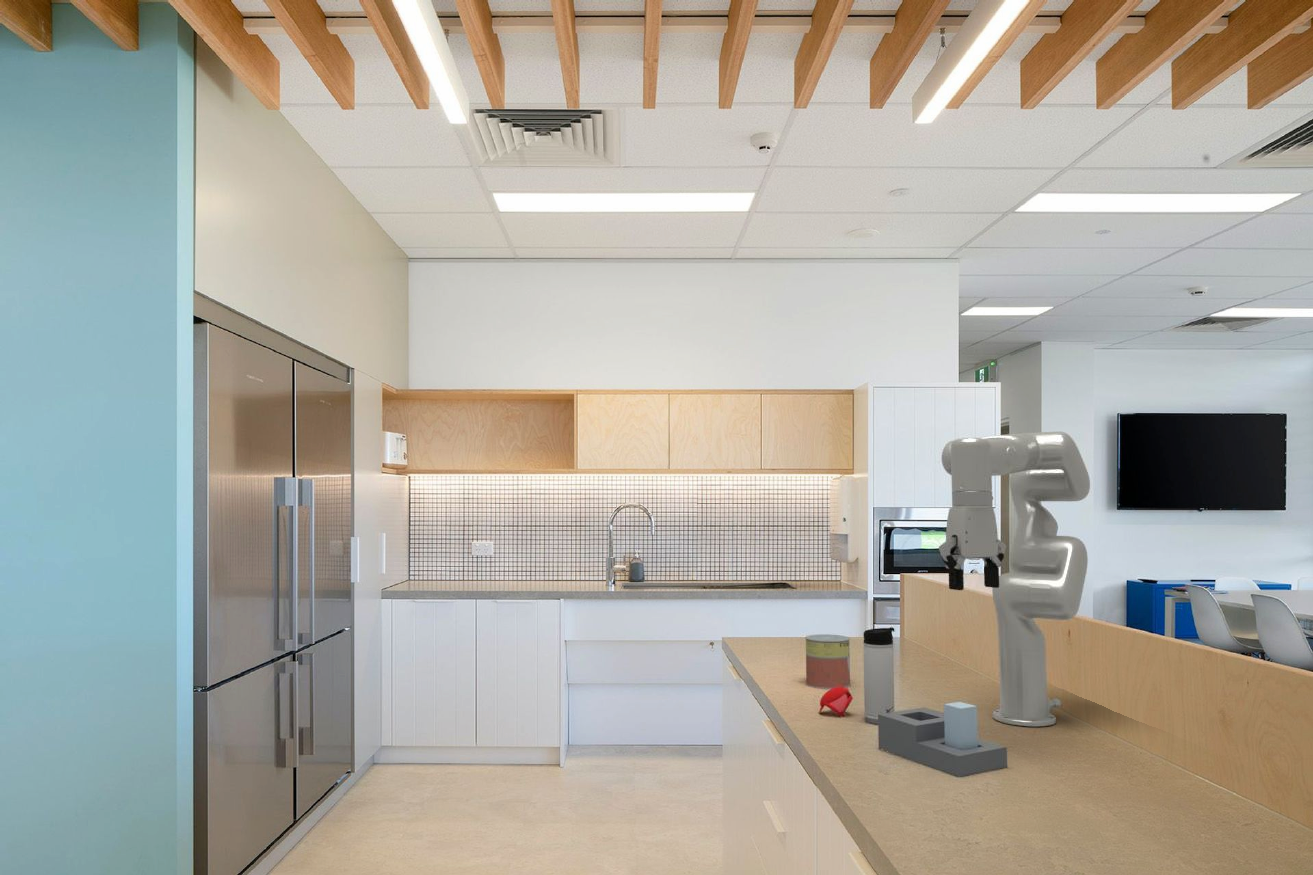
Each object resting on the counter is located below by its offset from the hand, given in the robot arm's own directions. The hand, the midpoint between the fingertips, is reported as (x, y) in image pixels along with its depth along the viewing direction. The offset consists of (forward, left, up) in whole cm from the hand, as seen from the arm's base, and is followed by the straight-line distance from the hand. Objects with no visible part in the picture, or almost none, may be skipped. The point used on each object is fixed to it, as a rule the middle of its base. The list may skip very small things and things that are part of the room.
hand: (974, 588), depth 176 cm
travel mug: (+3, -24, -31) cm, 39 cm away
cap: (+7, -34, -31) cm, 46 cm away
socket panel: (+12, +2, -30) cm, 33 cm away
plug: (+12, +7, -30) cm, 33 cm away
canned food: (-12, -60, -31) cm, 68 cm away
